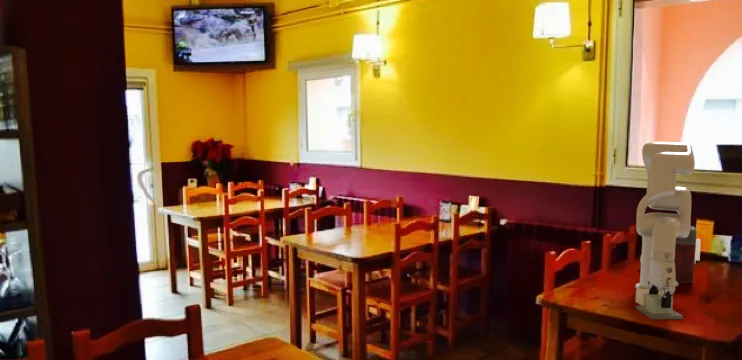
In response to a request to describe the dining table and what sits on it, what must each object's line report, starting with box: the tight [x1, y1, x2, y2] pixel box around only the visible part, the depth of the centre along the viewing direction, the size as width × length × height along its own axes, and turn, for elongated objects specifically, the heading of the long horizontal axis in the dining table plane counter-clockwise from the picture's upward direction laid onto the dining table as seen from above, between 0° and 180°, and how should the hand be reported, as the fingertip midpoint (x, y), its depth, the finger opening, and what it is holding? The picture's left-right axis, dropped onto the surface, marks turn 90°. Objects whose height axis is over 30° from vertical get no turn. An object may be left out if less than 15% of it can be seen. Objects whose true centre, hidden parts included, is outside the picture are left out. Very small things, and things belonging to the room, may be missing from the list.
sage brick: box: [646, 294, 674, 313], centre depth 207 cm, size 7×5×5 cm
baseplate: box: [635, 305, 684, 320], centre depth 207 cm, size 11×11×1 cm
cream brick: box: [635, 288, 663, 306], centre depth 218 cm, size 7×5×5 cm
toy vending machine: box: [674, 225, 698, 284], centre depth 251 cm, size 9×11×28 cm
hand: (659, 303), depth 207 cm, fingers open, 8 cm apart
